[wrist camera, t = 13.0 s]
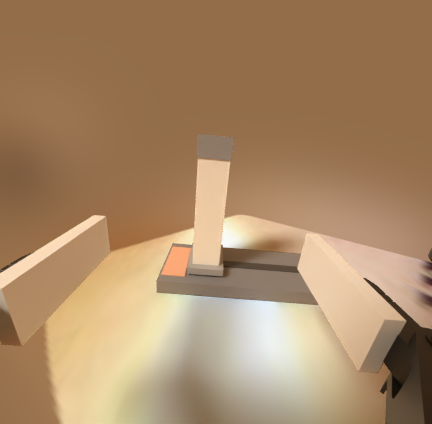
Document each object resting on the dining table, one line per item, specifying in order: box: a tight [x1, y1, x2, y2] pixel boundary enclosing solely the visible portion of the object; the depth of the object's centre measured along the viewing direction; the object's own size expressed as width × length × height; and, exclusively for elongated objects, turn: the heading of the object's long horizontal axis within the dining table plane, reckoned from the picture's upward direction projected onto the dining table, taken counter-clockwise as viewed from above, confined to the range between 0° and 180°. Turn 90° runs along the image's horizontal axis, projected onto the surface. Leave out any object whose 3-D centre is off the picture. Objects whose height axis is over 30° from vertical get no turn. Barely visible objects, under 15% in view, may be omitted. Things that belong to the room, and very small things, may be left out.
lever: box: [187, 134, 234, 276], centre depth 22 cm, size 4×6×14 cm
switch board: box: [157, 243, 319, 305], centre depth 25 cm, size 24×8×2 cm, turn 89°
